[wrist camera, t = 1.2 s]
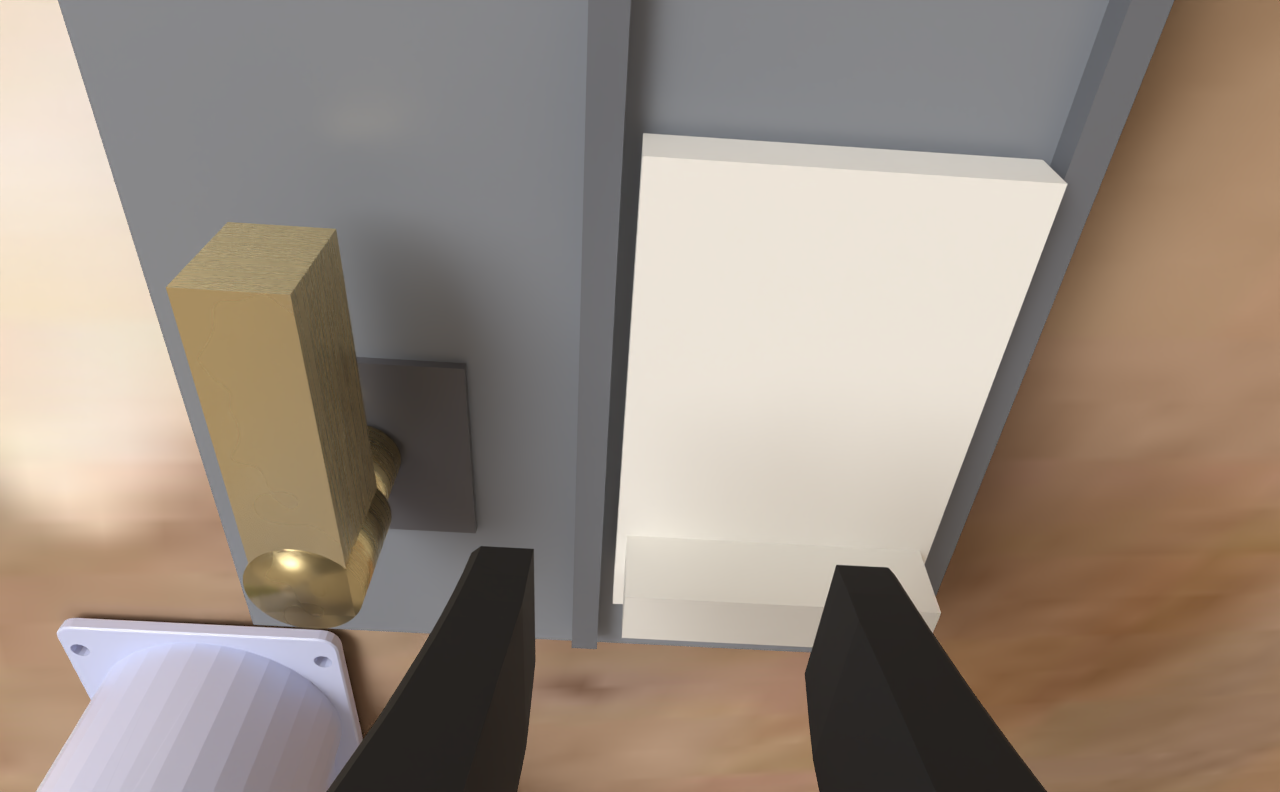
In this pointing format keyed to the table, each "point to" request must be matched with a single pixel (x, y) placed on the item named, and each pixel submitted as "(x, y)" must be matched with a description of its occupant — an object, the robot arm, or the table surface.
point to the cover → (807, 370)
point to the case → (553, 212)
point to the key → (288, 416)
